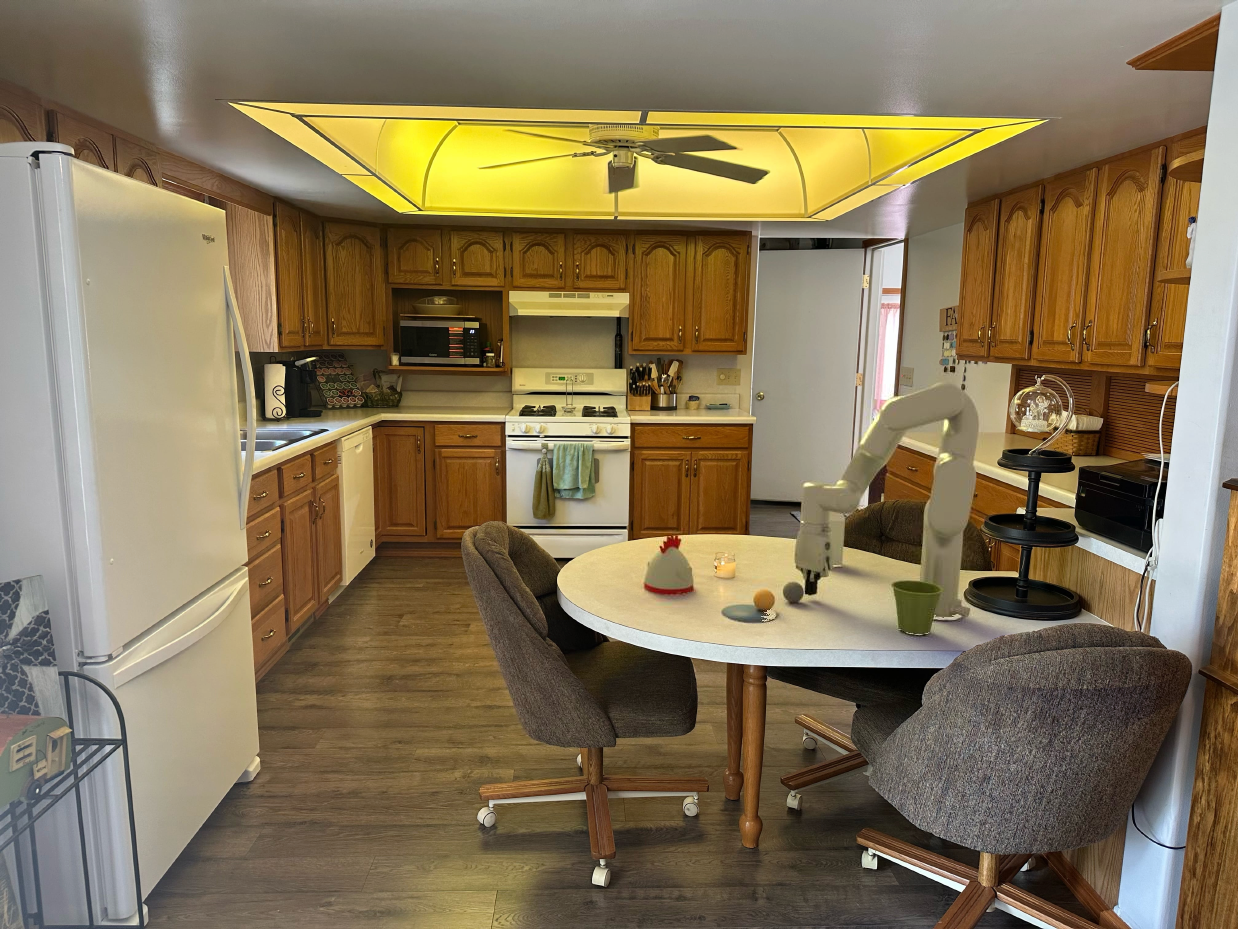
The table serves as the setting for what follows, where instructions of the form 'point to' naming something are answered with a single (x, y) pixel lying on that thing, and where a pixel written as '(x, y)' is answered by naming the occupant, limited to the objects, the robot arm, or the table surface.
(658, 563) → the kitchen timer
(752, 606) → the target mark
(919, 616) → the plant pot
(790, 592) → the gray ball
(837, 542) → the milk carton
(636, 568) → the table surface
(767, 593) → the object ball
